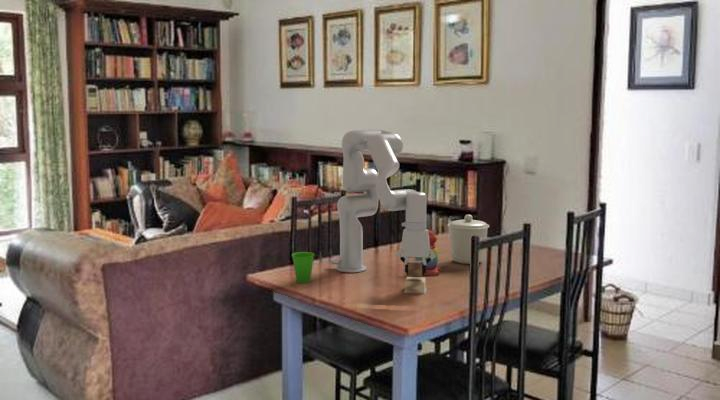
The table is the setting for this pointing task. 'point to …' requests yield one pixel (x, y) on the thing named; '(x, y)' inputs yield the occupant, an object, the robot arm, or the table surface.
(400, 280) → the table surface
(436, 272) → the stacking bear
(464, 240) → the canister
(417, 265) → the walnut cube
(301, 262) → the cup
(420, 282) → the oak base block
